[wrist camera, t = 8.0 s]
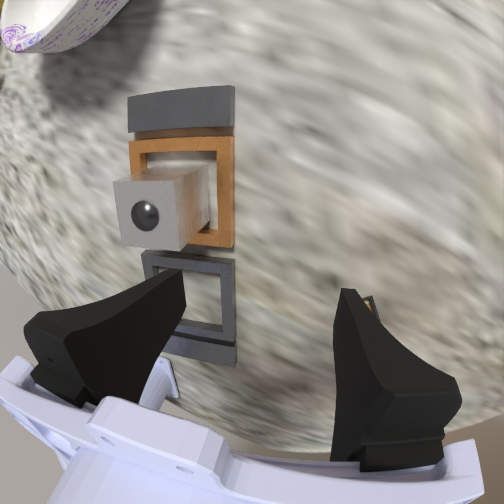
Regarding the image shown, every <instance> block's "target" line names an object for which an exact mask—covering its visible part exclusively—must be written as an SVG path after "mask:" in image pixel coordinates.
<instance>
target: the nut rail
mask: <svg viewBox="0 0 504 504" xmlns="http://www.w3.org/2000/svg"><path fill="white" fill-rule="evenodd" d="M234 88H235V87H234V86H231V85H227V86H210V87H197V88H187V89H178V90H170V91H162V92H155V93H149V94H143V95H137V96H131V97H128V133H131V132H140V131H150V130H161V129H174V128H190V127H220V126H234ZM167 151H217V199H218V230H213V229H201V230H200V231H199V232H198V233H197V234H196V235H195V236H194V237H193V238H192V239H191V240H190V241H189V242H188V243H187V244H196V245H207V246H217V247H227V248H231V247H232V246H233V244H234V136H198V137H175V138H159V139H146V140H135V141H130V142H129V155H130V169H131V175H132V174H135V173H138V172H140V171H143V170H146V169H147V163H146V153H148V152H167ZM141 258H142V264H143V269H144V275H145V280H147V279H149V278H151V277H153V276H155V275H157V274H159V272H158V266H161V267H168V268H175V269H183V270H191V271H199V272H207V273H215V274H220V283H221V303H222V321H223V326H221V325H215V324H209V323H203V322H198V321H192V320H187V319H181V320H180V322H179V324H178V326H177V327H176V329H175V331H174V332H173V334H172V336H171V337H170V339H169V340H168V342H167V344H166V345H165V347H164V349H163V350H162V352H166V353H170V354H174V355H178V356H183V357H187V358H192V359H196V360H201V361H206V362H211V363H216V364H221V365H227V366H233V367H235V364H236V361H237V349H236V341H235V337H236V309H235V259H228V258H218V257H209V256H200V255H191V254H182V253H173V252H164V251H155V250H145V251H144V252H143V253H142V254H141Z"/></svg>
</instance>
